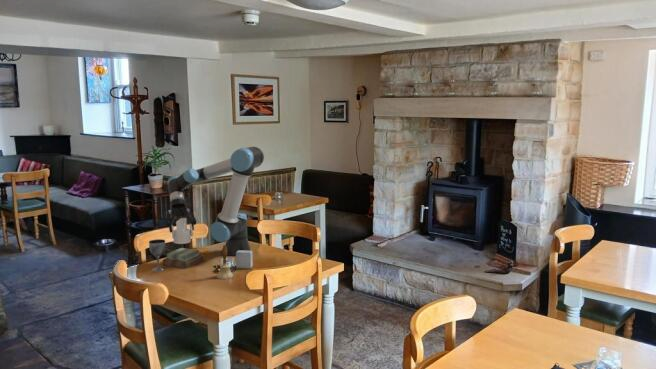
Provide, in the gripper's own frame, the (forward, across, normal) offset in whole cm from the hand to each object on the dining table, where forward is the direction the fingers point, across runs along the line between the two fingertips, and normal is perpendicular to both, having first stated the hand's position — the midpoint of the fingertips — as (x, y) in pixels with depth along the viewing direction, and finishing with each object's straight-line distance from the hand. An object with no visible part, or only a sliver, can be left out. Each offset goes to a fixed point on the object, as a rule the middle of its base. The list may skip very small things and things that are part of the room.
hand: (182, 236), depth 269 cm
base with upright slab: (+1, 0, -5) cm, 5 cm away
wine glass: (+13, +14, -9) cm, 21 cm away
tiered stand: (+9, 0, -13) cm, 16 cm away
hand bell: (+31, -16, +9) cm, 36 cm away
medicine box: (+24, -28, +2) cm, 37 cm away
